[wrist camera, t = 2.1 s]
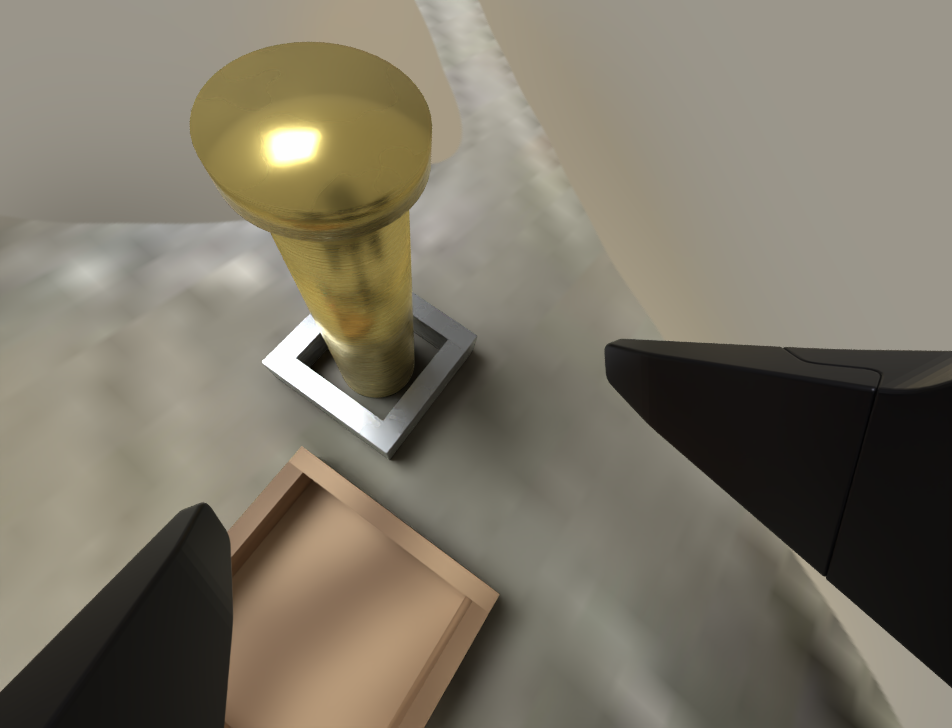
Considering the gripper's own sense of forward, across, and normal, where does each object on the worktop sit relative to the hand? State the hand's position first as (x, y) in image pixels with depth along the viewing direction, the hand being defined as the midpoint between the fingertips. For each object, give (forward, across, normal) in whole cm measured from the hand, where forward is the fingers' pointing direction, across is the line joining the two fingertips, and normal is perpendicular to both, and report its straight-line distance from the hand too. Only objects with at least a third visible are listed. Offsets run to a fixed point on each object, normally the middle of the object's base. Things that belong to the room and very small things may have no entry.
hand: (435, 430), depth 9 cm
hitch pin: (+14, 0, +4) cm, 15 cm away
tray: (+7, +6, +12) cm, 15 cm away
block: (+14, 0, +4) cm, 15 cm away
